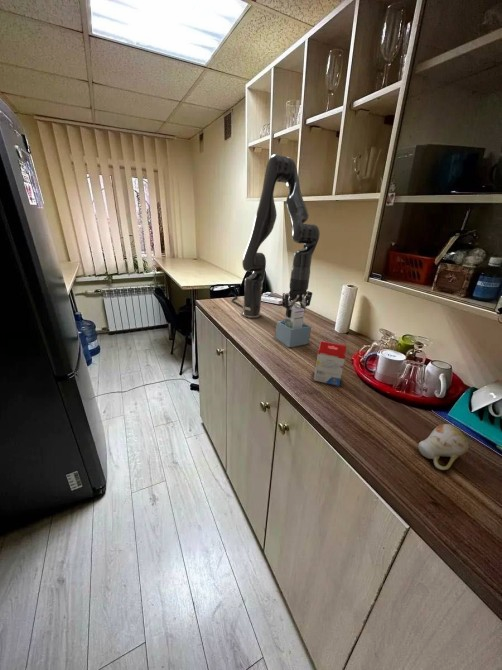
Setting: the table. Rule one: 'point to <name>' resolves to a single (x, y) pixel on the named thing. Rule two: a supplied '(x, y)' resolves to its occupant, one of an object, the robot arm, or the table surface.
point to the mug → (444, 445)
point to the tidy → (292, 334)
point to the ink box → (330, 363)
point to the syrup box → (295, 318)
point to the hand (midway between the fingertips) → (294, 316)
